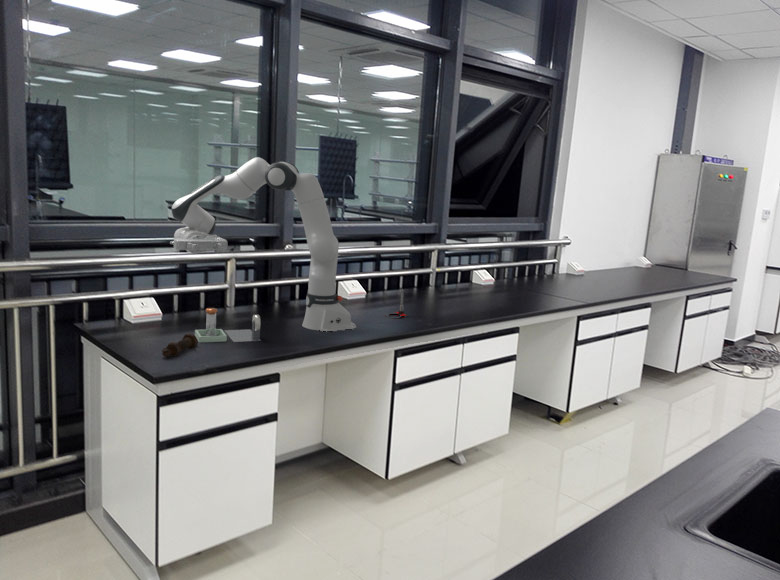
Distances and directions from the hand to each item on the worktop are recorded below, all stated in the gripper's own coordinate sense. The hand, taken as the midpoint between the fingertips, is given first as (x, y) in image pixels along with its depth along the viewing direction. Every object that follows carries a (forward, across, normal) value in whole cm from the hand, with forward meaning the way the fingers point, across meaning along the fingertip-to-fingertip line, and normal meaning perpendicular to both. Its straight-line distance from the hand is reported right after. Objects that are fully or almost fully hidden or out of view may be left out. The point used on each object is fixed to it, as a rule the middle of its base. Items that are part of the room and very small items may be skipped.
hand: (207, 247), depth 236 cm
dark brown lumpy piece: (+27, -19, +32) cm, 46 cm away
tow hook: (+6, +88, +32) cm, 94 cm away
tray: (+17, -4, +32) cm, 36 cm away
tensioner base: (+17, +8, +32) cm, 37 cm away
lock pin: (+17, -4, +31) cm, 36 cm away
